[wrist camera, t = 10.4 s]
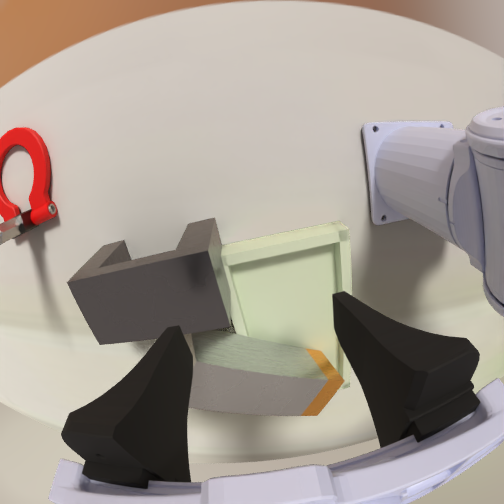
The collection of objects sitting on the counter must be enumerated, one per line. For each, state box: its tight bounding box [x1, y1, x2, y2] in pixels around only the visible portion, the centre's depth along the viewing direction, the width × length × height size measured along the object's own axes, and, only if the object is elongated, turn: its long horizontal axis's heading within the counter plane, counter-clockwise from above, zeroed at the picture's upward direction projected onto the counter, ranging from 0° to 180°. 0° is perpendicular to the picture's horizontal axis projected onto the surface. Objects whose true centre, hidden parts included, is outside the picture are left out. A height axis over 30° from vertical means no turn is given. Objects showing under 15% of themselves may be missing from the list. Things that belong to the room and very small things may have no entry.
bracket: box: [67, 218, 231, 345], centre depth 18 cm, size 9×5×6 cm, turn 101°
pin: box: [184, 329, 345, 416], centre depth 21 cm, size 4×13×4 cm, turn 64°
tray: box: [221, 221, 352, 391], centre depth 23 cm, size 10×18×2 cm, turn 11°
